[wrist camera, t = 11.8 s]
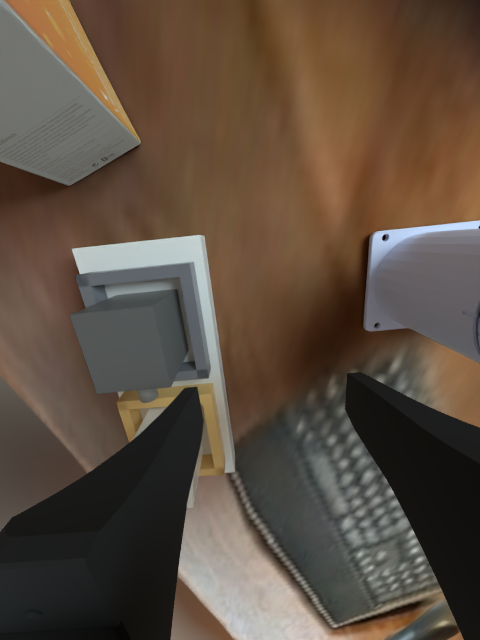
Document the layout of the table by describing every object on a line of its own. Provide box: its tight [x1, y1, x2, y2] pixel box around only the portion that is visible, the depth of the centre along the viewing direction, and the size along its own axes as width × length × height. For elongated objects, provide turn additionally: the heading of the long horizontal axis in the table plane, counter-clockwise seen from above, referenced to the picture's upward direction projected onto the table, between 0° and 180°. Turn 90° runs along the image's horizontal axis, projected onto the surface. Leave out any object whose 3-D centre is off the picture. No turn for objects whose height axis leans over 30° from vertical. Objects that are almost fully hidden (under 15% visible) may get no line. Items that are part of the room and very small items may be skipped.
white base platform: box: [72, 235, 235, 476], centre depth 19 cm, size 9×22×4 cm, turn 6°
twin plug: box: [70, 289, 189, 403], centre depth 16 cm, size 4×7×5 cm
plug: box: [133, 406, 204, 508], centre depth 19 cm, size 4×7×5 cm
